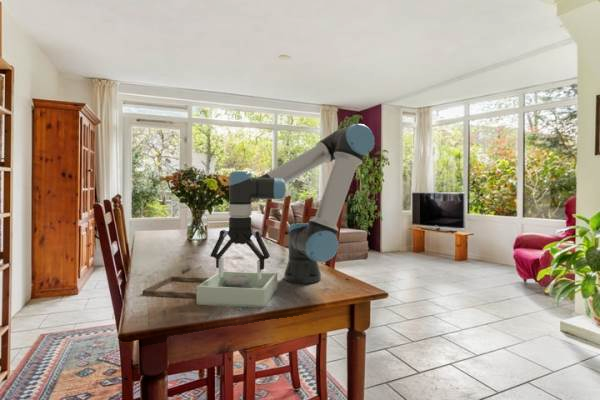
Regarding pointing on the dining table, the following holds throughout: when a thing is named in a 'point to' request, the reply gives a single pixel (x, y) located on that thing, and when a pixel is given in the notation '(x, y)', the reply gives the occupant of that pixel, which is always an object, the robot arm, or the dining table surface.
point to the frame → (155, 292)
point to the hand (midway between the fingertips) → (240, 278)
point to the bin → (237, 291)
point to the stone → (238, 281)
